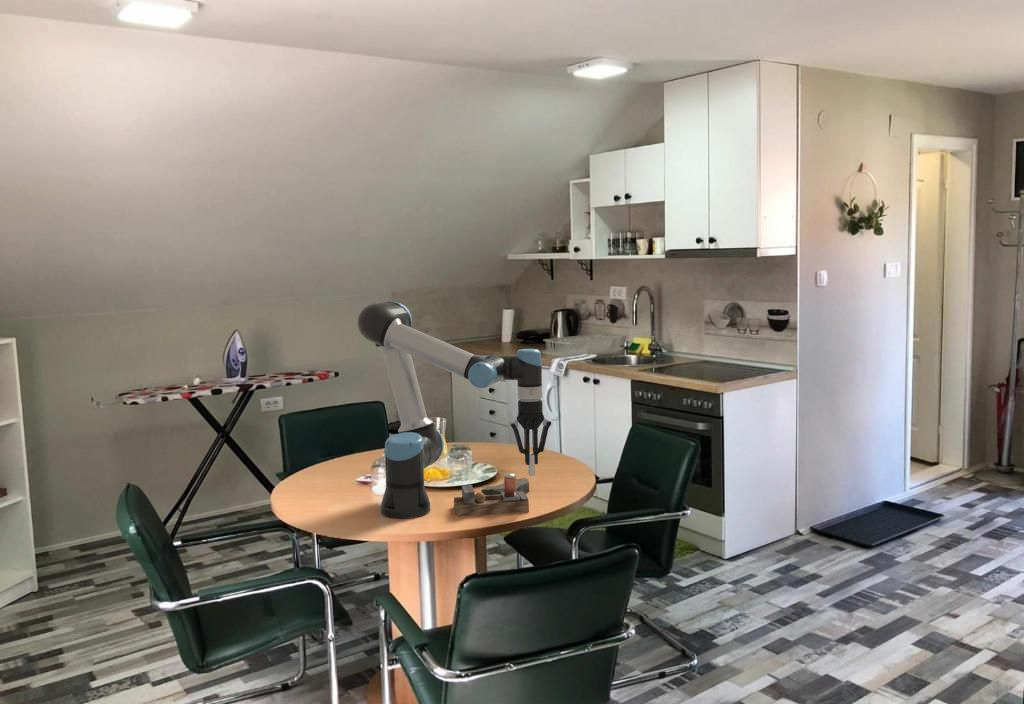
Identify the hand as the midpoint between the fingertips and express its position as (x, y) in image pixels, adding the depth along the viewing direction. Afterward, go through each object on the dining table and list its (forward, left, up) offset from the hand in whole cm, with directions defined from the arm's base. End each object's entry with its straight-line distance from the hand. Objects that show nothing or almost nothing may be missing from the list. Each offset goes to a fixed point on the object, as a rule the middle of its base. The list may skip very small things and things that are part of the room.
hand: (531, 474), depth 260 cm
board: (-13, 0, -10) cm, 17 cm away
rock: (-6, +18, -11) cm, 22 cm away
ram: (-7, 0, -8) cm, 11 cm away
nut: (-16, 0, -8) cm, 18 cm away
